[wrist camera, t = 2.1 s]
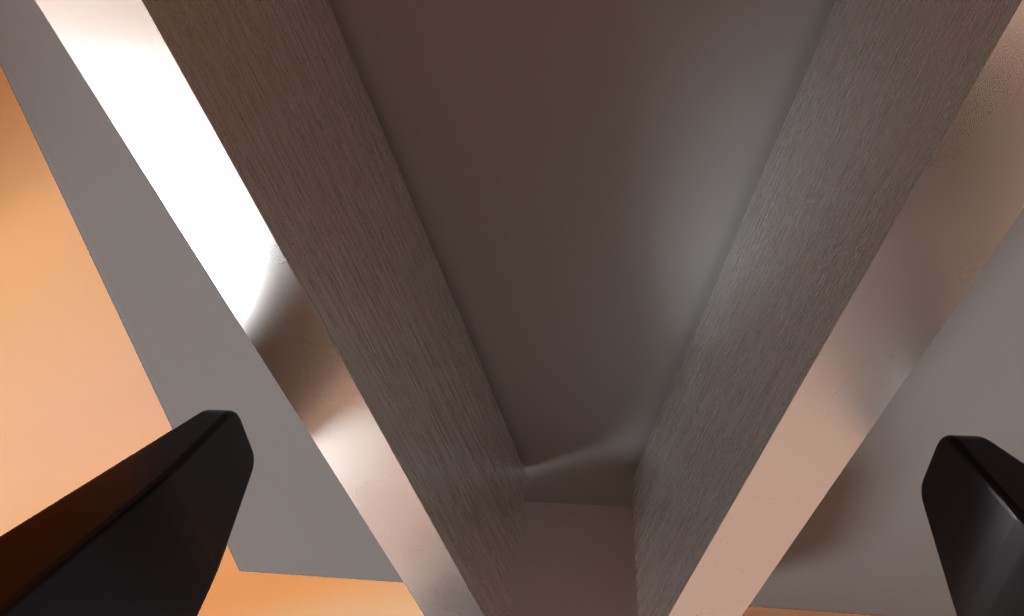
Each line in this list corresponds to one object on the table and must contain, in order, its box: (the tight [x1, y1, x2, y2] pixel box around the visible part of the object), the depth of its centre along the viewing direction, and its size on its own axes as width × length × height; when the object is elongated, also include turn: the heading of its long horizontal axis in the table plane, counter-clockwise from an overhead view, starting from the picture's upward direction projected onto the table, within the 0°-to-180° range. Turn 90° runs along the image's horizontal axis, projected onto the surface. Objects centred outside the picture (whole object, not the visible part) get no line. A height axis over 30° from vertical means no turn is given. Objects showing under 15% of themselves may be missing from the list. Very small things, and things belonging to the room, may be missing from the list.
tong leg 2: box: [632, 0, 1024, 616], centre depth 8 cm, size 14×1×4 cm, turn 170°
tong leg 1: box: [35, 0, 528, 616], centre depth 9 cm, size 14×1×4 cm, turn 18°
